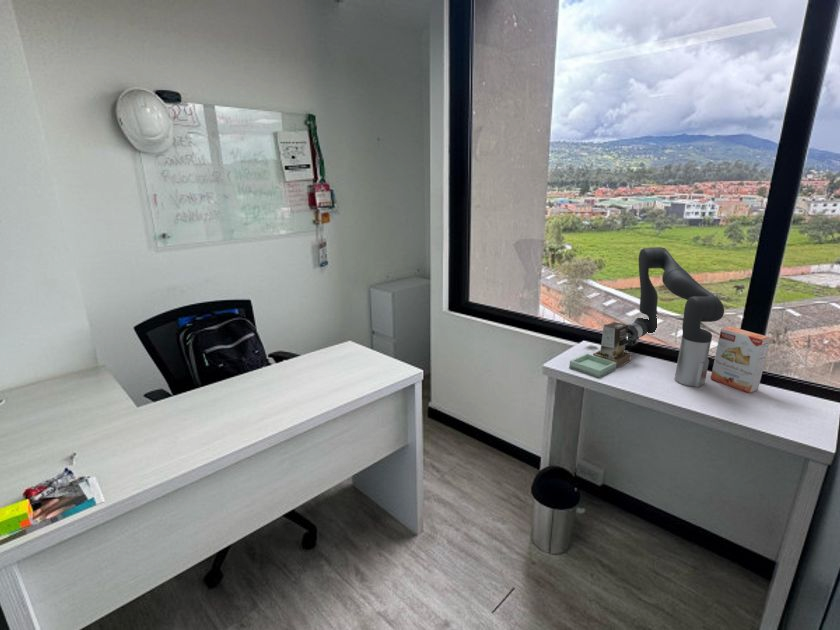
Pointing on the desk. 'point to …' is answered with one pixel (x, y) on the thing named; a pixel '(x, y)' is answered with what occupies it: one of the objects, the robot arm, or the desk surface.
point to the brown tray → (619, 360)
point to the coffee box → (613, 340)
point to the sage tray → (592, 365)
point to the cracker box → (740, 358)
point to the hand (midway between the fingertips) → (611, 341)
